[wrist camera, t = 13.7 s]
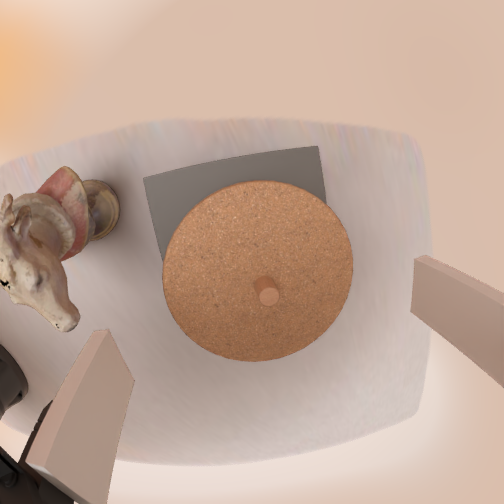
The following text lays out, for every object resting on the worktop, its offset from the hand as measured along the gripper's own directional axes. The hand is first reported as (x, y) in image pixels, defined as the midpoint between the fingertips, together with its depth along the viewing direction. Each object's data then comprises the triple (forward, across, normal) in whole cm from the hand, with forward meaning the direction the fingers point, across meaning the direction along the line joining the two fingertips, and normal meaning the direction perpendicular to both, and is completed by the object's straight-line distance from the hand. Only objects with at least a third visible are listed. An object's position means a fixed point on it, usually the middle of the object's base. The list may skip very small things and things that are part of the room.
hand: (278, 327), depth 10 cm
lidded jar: (+12, 0, 0) cm, 12 cm away
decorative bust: (+23, -16, +4) cm, 28 cm away
